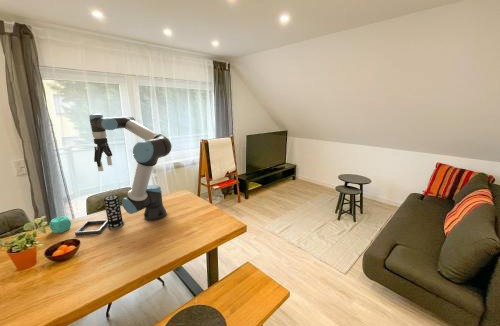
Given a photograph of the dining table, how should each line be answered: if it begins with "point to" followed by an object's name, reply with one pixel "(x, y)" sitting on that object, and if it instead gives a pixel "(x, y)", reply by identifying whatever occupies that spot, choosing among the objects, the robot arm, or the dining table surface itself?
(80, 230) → the grey square frame
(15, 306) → the dining table surface
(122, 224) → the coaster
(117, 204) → the spotted tube
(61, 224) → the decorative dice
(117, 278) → the dining table surface
